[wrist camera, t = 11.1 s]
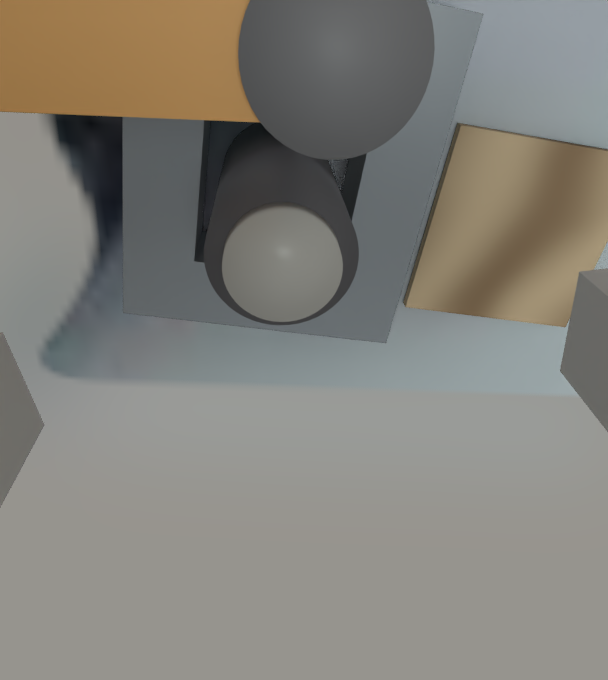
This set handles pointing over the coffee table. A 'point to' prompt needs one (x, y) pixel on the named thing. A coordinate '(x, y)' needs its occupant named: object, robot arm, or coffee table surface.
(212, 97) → the wooden handle
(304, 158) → the plug
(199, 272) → the socket
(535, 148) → the coaster
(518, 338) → the coffee table surface
